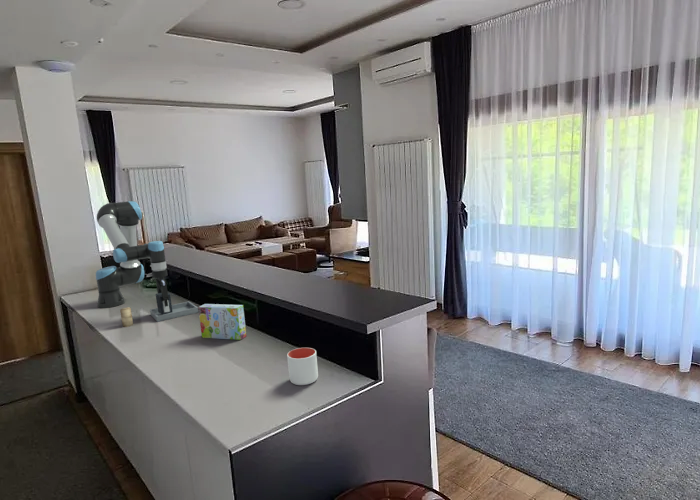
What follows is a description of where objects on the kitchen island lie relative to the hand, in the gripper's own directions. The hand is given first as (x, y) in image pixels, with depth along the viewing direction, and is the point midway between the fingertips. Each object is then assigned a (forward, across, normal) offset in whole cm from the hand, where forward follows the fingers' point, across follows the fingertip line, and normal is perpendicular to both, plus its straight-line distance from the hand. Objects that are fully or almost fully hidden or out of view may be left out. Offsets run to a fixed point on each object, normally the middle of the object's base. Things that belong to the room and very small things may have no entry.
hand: (165, 310), depth 246 cm
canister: (+3, +3, -20) cm, 20 cm away
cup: (+3, +123, +19) cm, 125 cm away
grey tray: (+3, 0, +4) cm, 5 cm away
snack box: (+3, +59, +12) cm, 60 cm away
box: (+2, 0, 0) cm, 2 cm away
